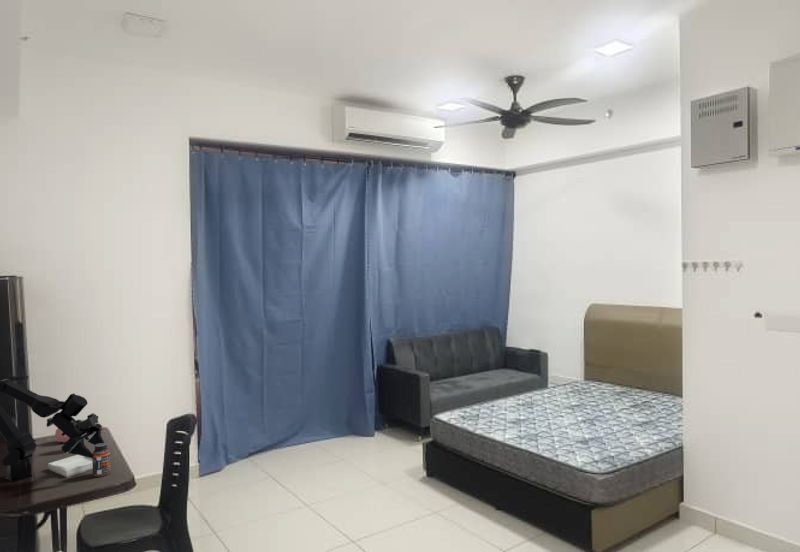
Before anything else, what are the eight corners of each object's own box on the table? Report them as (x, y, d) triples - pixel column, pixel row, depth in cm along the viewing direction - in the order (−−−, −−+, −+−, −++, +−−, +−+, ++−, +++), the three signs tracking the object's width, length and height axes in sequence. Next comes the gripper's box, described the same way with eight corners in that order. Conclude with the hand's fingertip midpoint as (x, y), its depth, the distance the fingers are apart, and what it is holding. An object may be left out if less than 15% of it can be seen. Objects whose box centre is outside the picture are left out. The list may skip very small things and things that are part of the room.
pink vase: (76, 438, 248) (74, 412, 248) (74, 442, 242) (73, 416, 241) (56, 441, 245) (55, 414, 245) (54, 446, 238) (52, 419, 238)
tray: (67, 477, 201) (66, 470, 201) (48, 469, 210) (48, 463, 210) (107, 464, 214) (107, 458, 214) (88, 457, 222) (88, 451, 222)
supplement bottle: (103, 477, 200) (101, 447, 200) (89, 477, 201) (87, 447, 201) (114, 471, 206) (113, 442, 206) (101, 470, 207) (99, 441, 207)
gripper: (68, 416, 193) (101, 445, 194) (95, 402, 212) (125, 429, 213) (47, 439, 193) (80, 468, 194) (76, 423, 212) (106, 449, 213)
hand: (99, 452), depth 203 cm, fingers open, 9 cm apart
